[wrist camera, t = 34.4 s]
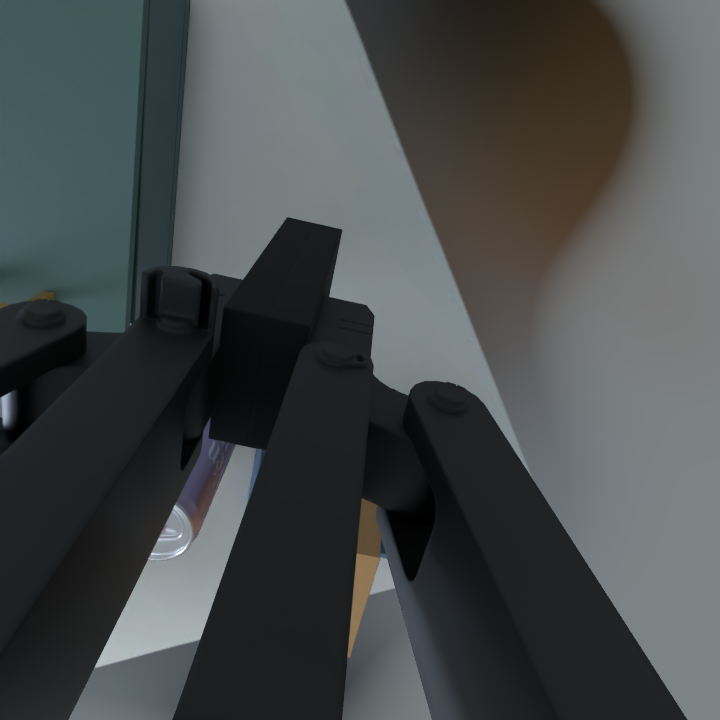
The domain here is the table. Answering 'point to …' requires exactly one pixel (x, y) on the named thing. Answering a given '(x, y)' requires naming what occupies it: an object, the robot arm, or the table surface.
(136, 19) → the lid
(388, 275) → the table surface
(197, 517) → the beverage can
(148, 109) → the box
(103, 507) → the robot arm
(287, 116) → the table surface
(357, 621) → the packet
